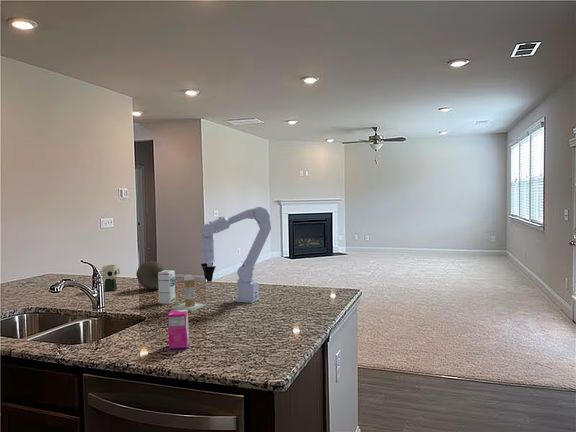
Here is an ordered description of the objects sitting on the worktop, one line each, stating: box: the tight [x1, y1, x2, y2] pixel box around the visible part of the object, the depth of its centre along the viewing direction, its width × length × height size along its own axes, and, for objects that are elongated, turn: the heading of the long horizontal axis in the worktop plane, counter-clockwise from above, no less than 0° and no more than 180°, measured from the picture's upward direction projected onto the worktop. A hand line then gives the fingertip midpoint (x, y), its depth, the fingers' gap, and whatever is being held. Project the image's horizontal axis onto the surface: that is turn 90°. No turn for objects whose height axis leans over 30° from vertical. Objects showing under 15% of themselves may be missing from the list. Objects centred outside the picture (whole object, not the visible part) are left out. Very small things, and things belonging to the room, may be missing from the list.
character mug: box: [99, 264, 121, 291], centre depth 236 cm, size 11×7×13 cm, turn 139°
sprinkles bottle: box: [183, 274, 196, 307], centre depth 196 cm, size 5×5×13 cm
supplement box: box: [167, 309, 190, 351], centre depth 144 cm, size 6×6×12 cm
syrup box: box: [158, 269, 177, 305], centre depth 206 cm, size 6×6×14 cm
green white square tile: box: [170, 302, 207, 312], centre depth 197 cm, size 11×11×1 cm
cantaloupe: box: [135, 260, 165, 290], centre depth 236 cm, size 14×14×15 cm
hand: (208, 280), depth 204 cm, fingers open, 7 cm apart
